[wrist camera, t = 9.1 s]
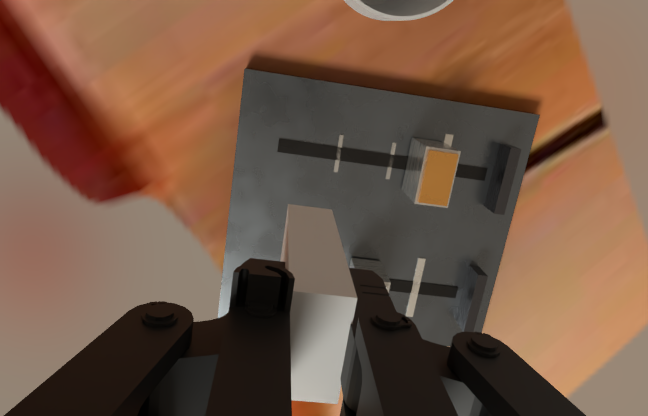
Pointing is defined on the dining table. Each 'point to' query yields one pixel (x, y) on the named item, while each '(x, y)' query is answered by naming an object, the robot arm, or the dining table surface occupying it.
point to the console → (379, 189)
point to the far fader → (371, 268)
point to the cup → (397, 8)
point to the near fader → (430, 172)
